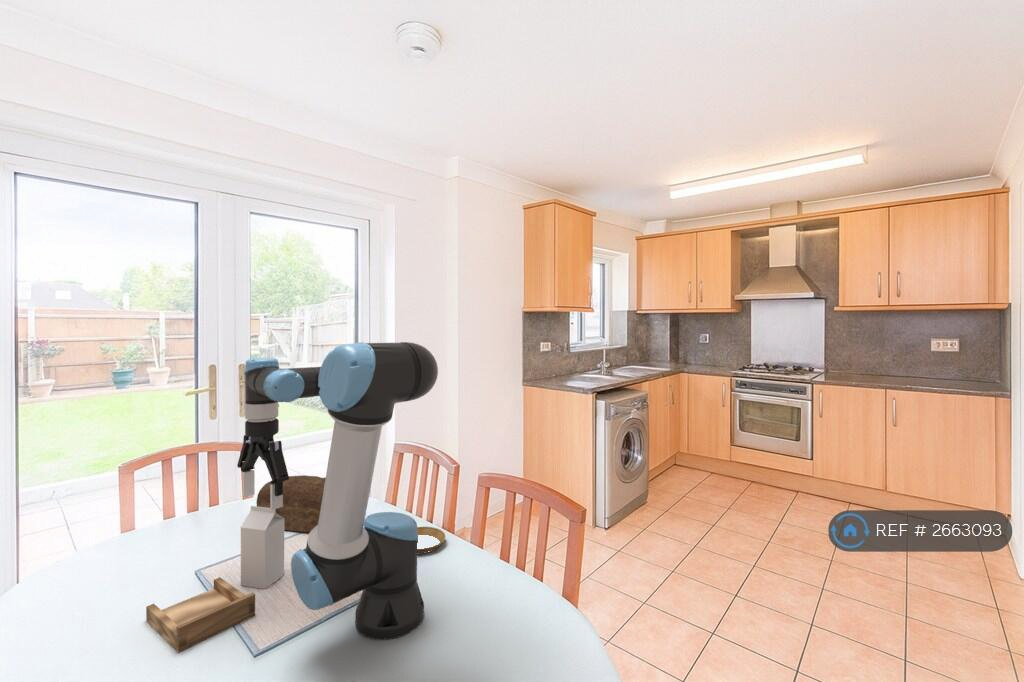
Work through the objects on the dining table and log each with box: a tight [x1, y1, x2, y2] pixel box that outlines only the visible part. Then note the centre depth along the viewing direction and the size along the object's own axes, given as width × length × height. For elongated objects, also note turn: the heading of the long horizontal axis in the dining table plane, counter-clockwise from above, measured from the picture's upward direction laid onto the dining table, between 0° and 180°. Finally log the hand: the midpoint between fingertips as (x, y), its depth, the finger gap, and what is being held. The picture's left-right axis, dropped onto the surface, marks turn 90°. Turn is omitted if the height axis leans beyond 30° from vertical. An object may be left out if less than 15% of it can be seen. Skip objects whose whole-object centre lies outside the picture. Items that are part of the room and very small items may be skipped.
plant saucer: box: [417, 526, 446, 554], centre depth 142 cm, size 15×15×3 cm
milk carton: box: [240, 505, 285, 590], centre depth 120 cm, size 7×7×19 cm
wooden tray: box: [145, 576, 256, 654], centre depth 105 cm, size 17×15×5 cm
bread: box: [256, 474, 326, 534], centre depth 155 cm, size 15×32×16 cm, turn 80°
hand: (262, 501), depth 120 cm, fingers open, 13 cm apart
